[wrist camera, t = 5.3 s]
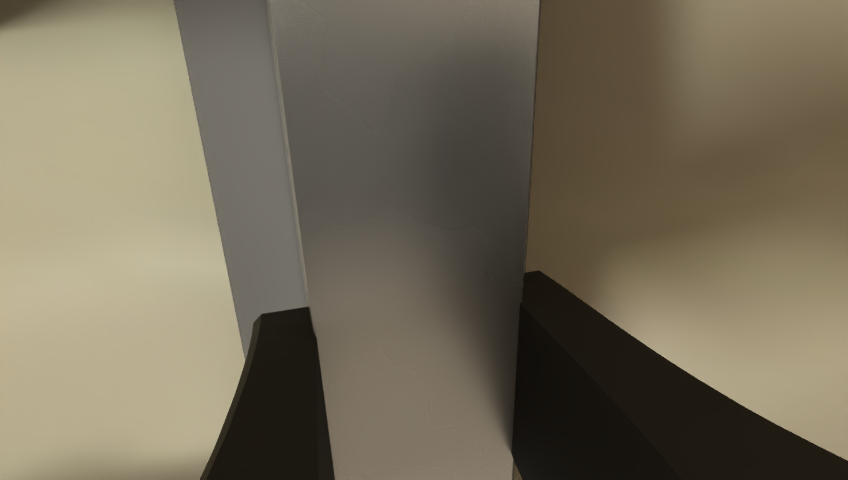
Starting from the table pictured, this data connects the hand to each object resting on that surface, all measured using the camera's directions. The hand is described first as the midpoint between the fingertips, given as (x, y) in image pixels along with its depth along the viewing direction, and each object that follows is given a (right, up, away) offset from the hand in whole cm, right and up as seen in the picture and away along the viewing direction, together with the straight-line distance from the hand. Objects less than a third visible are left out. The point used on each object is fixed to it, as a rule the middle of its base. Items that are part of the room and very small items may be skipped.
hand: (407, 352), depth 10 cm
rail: (0, +1, +1) cm, 2 cm away
